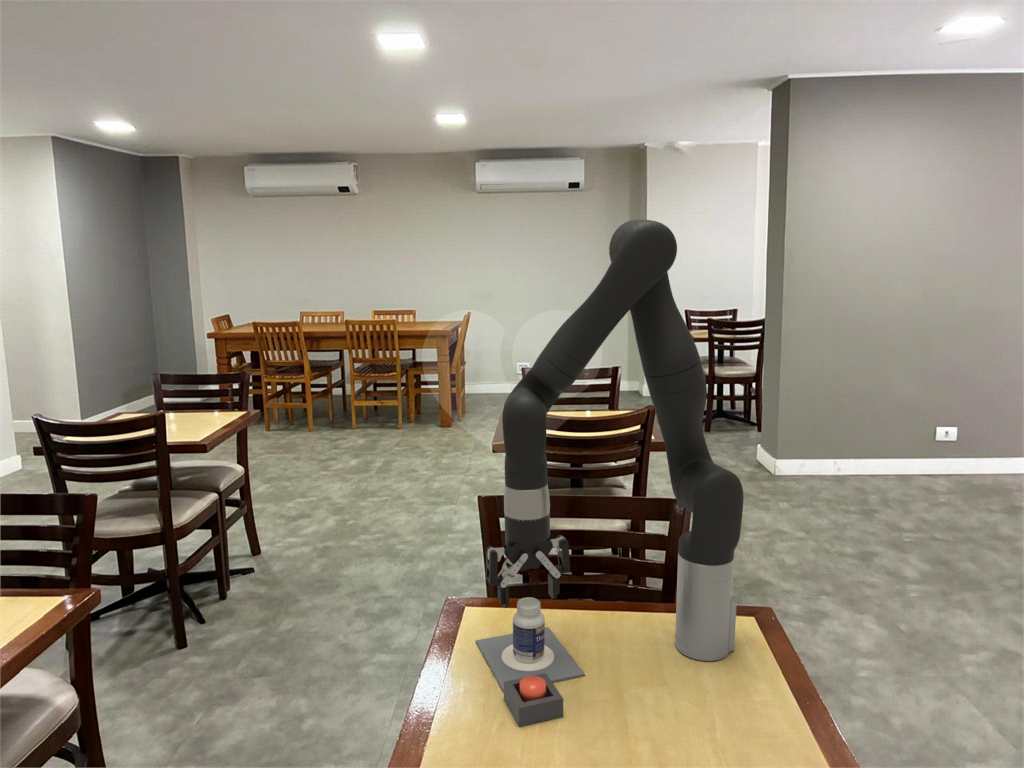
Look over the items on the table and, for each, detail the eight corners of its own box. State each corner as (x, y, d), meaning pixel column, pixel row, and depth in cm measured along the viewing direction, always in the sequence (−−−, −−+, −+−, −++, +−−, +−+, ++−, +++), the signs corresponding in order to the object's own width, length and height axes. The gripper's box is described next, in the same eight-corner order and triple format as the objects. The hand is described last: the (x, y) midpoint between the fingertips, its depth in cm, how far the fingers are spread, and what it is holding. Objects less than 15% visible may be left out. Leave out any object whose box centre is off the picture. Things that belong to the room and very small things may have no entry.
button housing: (545, 690, 111) (545, 672, 111) (563, 716, 105) (563, 698, 104) (503, 699, 109) (503, 681, 109) (518, 726, 102) (518, 708, 102)
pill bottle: (541, 666, 117) (541, 612, 115) (509, 662, 118) (509, 608, 116) (547, 648, 122) (547, 597, 120) (516, 644, 123) (517, 593, 122)
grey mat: (548, 628, 130) (548, 626, 130) (584, 675, 115) (584, 673, 115) (475, 642, 125) (475, 639, 125) (503, 693, 111) (503, 690, 110)
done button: (540, 685, 109) (540, 673, 109) (550, 700, 105) (550, 688, 105) (516, 690, 108) (515, 678, 107) (525, 705, 104) (524, 693, 104)
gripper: (558, 497, 122) (559, 584, 125) (479, 508, 117) (482, 598, 120) (575, 511, 115) (576, 603, 118) (492, 523, 110) (495, 619, 113)
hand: (529, 601), depth 119 cm, fingers open, 8 cm apart
